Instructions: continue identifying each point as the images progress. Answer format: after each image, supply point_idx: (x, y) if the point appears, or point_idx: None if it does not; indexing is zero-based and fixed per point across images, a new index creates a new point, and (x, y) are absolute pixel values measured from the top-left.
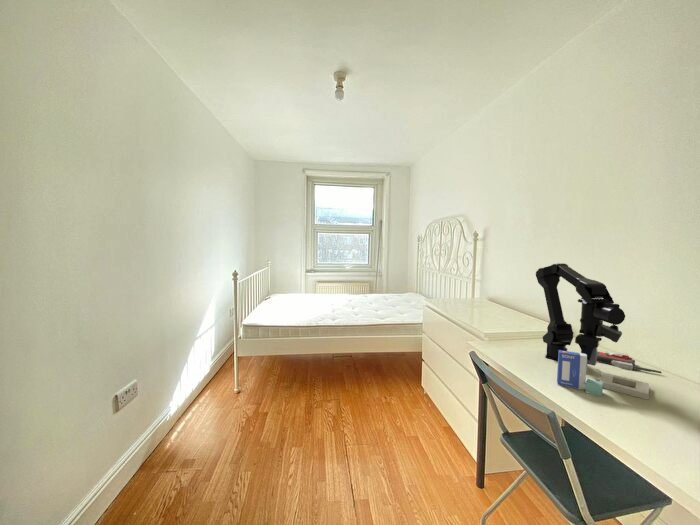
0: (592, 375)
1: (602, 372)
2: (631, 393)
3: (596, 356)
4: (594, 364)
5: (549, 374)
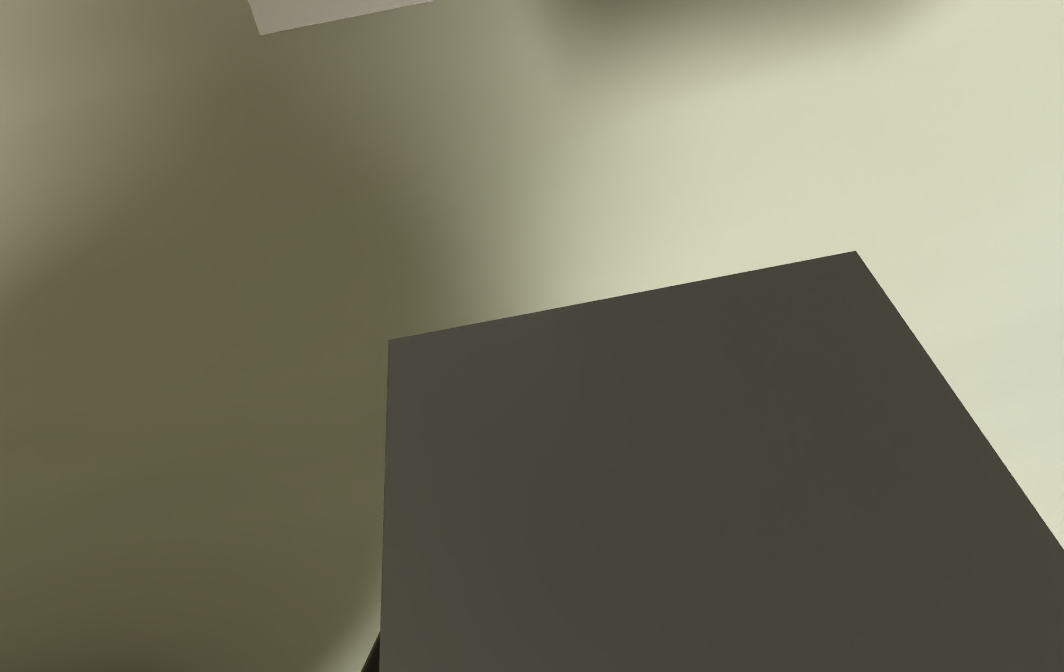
0: (408, 164)
1: (292, 26)
2: None
3: (577, 537)
4: (874, 296)
5: None
